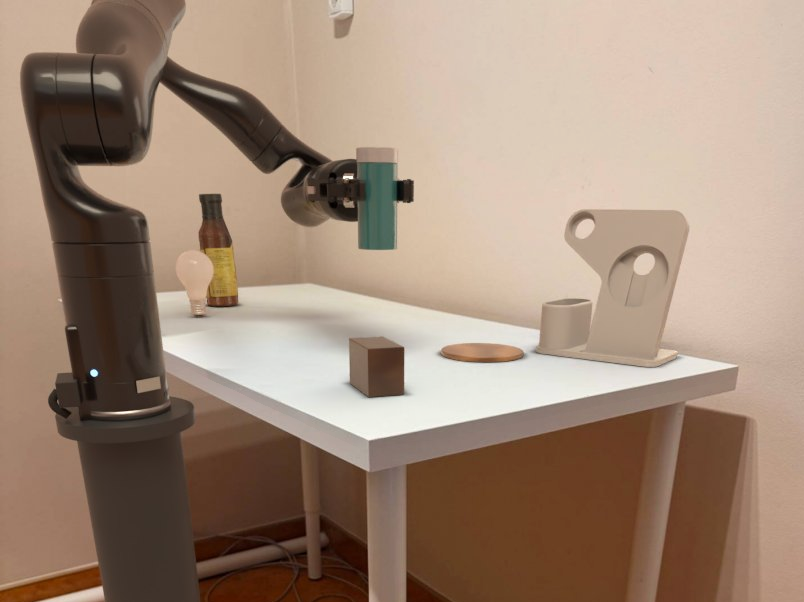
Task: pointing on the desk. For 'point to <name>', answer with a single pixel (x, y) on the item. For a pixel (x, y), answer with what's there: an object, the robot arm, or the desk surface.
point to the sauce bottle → (218, 252)
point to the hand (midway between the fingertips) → (384, 190)
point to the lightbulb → (195, 278)
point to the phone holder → (619, 289)
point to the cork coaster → (482, 352)
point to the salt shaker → (378, 198)
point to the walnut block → (376, 366)
